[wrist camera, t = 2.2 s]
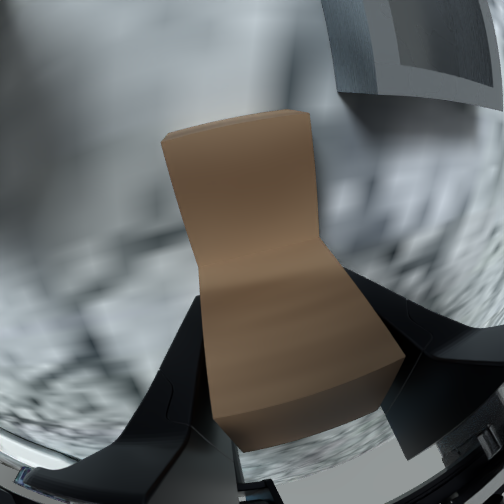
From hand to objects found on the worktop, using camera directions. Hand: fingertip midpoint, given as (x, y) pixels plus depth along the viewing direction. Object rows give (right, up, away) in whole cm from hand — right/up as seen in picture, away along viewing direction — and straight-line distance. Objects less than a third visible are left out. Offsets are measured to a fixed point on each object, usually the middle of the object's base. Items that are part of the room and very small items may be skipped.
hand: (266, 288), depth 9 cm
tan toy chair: (-1, +2, +1) cm, 2 cm away
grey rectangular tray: (+5, +12, -4) cm, 14 cm away
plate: (-40, -35, +16) cm, 55 cm away
